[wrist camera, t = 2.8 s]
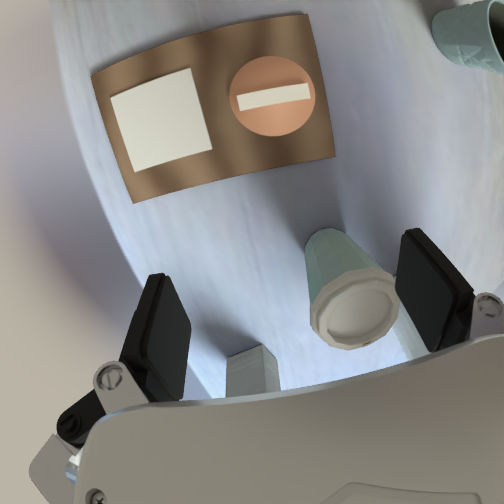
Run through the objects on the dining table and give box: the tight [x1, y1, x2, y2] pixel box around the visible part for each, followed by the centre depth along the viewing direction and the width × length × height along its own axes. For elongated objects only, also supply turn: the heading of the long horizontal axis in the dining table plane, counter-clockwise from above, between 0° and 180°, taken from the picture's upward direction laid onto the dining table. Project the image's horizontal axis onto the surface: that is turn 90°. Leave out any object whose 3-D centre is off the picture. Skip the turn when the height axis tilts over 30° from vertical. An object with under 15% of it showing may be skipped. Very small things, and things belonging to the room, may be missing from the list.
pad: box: [110, 68, 213, 172], centre depth 29 cm, size 10×10×1 cm
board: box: [90, 14, 336, 204], centre depth 29 cm, size 26×18×1 cm
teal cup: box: [431, 0, 504, 75], centre depth 18 cm, size 10×10×12 cm
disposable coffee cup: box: [305, 228, 401, 350], centre depth 34 cm, size 11×11×15 cm
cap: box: [229, 56, 315, 136], centre depth 20 cm, size 6×6×5 cm
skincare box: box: [225, 344, 281, 398], centre depth 47 cm, size 8×7×16 cm
